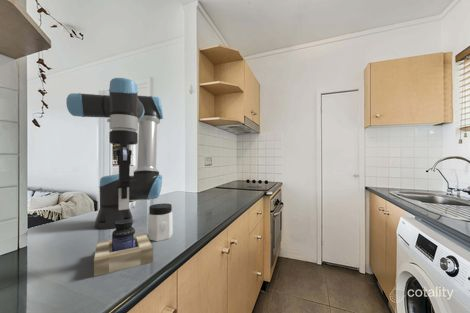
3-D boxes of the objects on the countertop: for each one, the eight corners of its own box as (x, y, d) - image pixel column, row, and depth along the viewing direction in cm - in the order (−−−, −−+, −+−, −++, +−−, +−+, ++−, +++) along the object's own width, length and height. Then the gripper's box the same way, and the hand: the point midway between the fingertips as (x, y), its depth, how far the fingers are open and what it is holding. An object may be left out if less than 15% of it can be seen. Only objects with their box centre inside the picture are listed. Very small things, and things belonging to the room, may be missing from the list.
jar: (150, 243, 72) (150, 209, 72) (146, 236, 79) (146, 205, 79) (175, 237, 77) (175, 205, 77) (169, 231, 84) (169, 202, 84)
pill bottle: (138, 257, 61) (138, 221, 61) (116, 265, 57) (116, 226, 57) (130, 252, 65) (130, 217, 65) (109, 258, 61) (109, 221, 61)
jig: (97, 252, 65) (97, 239, 65) (144, 242, 73) (144, 231, 73) (93, 276, 51) (93, 260, 51) (152, 261, 59) (152, 247, 59)
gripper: (109, 133, 65) (109, 206, 65) (109, 126, 54) (108, 215, 54) (135, 134, 69) (135, 203, 69) (140, 128, 58) (140, 211, 57)
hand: (123, 209), depth 61 cm, fingers closed
